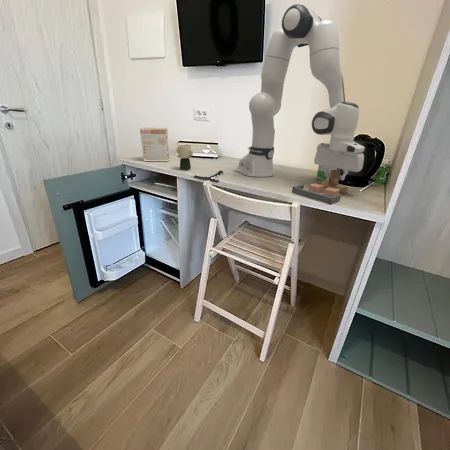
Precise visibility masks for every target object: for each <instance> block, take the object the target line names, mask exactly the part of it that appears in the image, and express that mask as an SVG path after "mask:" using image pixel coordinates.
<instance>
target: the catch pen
mask: <svg viewBox="0 0 450 450" xmlns="http://www.w3.org/2000/svg"><path fill="white" fill-rule="evenodd" d="M304 187H305V184H303V183H301V184H299V185H294V186H292V190H291V193H292V194H295V195H299V196H301V197H305V198H309V199H312V200H315V201H318V202H321V203H324V204H328V205H332V204H335V203H338V202H340V201H341V196H342V194H338V195H335V196H332V197H329V196H325V195H323V194H321V193H315V192H311V191H309V189H308V190H307V189H304Z"/></svg>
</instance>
